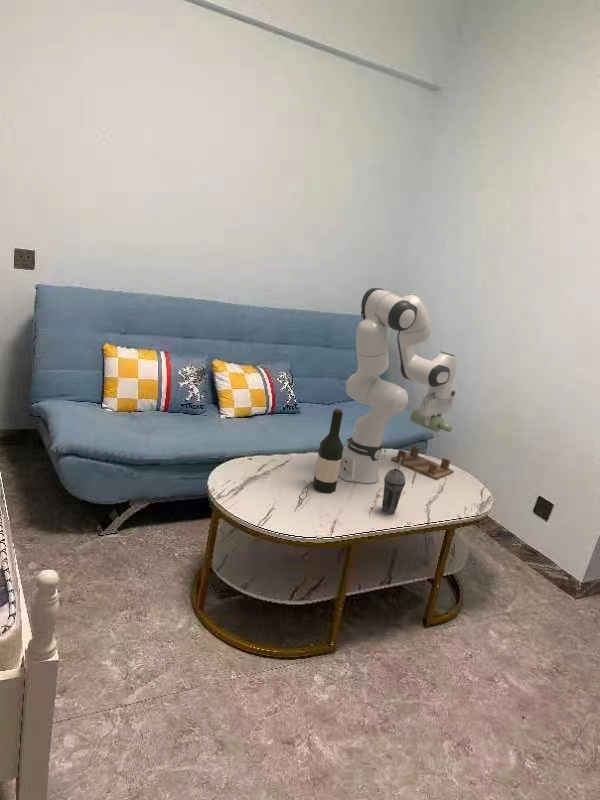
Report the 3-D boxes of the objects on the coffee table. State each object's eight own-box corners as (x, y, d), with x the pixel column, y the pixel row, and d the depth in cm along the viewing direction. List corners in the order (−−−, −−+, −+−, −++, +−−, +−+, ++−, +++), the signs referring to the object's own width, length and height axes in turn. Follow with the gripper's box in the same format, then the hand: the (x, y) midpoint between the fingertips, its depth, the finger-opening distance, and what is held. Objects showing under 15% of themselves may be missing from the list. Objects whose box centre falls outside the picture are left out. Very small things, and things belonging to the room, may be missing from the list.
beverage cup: (374, 510, 212) (385, 456, 207) (383, 504, 218) (394, 451, 213) (392, 518, 209) (404, 464, 203) (402, 512, 215) (414, 458, 209)
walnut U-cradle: (390, 460, 261) (393, 449, 260) (408, 454, 272) (410, 443, 270) (436, 480, 248) (439, 468, 246) (453, 473, 258) (455, 461, 257)
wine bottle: (333, 495, 219) (348, 415, 211) (310, 490, 220) (324, 410, 212) (337, 486, 227) (351, 409, 219) (314, 481, 228) (328, 404, 220)
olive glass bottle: (408, 420, 257) (444, 434, 246) (414, 407, 257) (450, 420, 246) (414, 423, 262) (450, 437, 251) (420, 410, 262) (455, 423, 251)
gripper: (432, 396, 241) (425, 430, 245) (457, 391, 256) (450, 422, 260) (418, 392, 244) (411, 425, 248) (444, 386, 260) (437, 418, 263)
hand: (431, 423), depth 254 cm, fingers closed on olive glass bottle, 6 cm apart
